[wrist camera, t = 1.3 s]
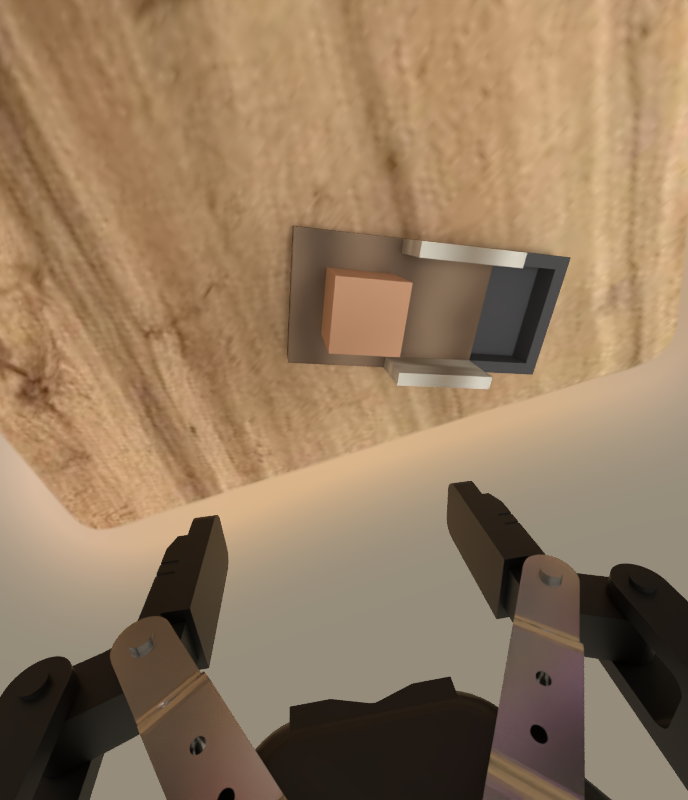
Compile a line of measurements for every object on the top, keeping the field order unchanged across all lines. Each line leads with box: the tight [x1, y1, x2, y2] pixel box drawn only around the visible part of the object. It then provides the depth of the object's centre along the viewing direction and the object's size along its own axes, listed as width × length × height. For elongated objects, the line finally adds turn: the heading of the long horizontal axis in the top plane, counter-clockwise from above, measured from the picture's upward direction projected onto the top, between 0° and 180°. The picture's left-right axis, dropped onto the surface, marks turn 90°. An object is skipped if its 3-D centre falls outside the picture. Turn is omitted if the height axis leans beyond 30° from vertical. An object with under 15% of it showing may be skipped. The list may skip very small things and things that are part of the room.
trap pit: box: [469, 249, 570, 374], centre depth 33 cm, size 6×10×2 cm, turn 174°
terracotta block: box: [321, 267, 413, 357], centre depth 27 cm, size 5×5×5 cm
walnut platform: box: [287, 226, 527, 389], centre depth 29 cm, size 16×10×6 cm, turn 84°
